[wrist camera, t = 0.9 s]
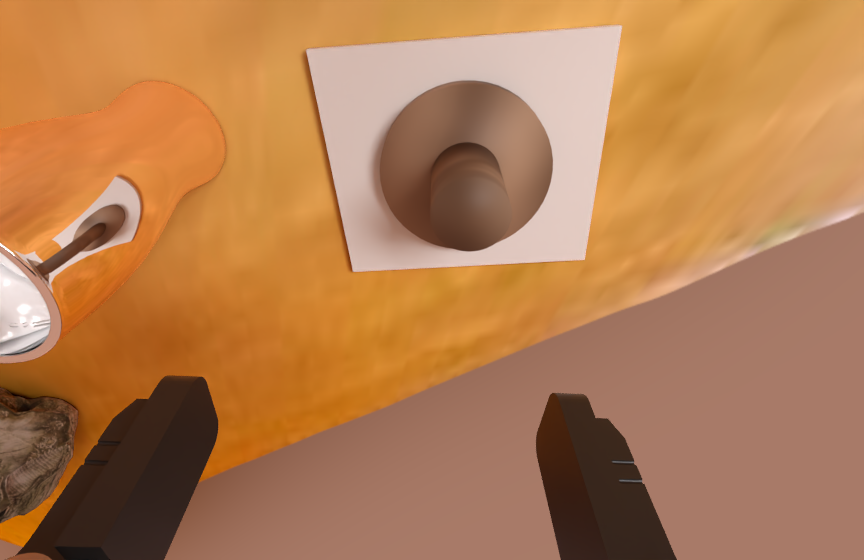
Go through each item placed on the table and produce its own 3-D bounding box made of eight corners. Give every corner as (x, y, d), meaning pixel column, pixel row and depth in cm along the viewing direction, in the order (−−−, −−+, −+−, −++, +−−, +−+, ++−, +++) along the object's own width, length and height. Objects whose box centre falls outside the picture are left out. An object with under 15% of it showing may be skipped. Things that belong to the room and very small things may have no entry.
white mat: (618, 24, 22) (622, 25, 22) (582, 255, 31) (584, 259, 30) (308, 48, 23) (305, 49, 23) (354, 267, 31) (353, 271, 31)
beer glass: (229, 85, 24) (25, 213, 12) (238, 199, 28) (91, 380, 16) (95, 59, 24) (-263, 168, 12) (123, 179, 28) (-120, 353, 16)
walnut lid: (557, 73, 23) (588, 103, 19) (542, 237, 29) (563, 292, 24) (369, 87, 24) (352, 120, 19) (392, 245, 30) (383, 301, 25)
